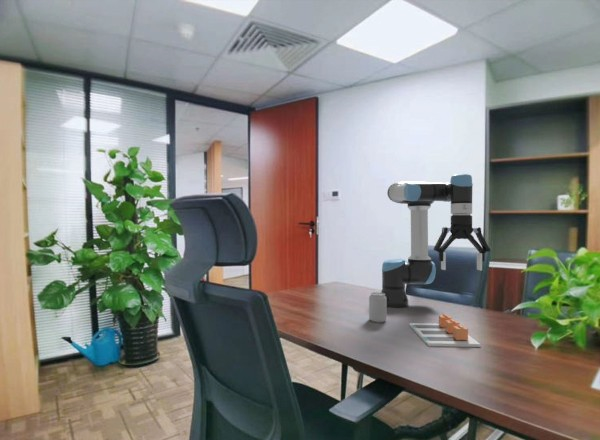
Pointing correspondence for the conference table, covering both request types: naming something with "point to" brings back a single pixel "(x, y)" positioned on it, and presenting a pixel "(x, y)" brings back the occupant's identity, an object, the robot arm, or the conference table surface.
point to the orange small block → (443, 319)
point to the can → (377, 307)
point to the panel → (440, 336)
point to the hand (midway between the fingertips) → (461, 269)
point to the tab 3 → (460, 332)
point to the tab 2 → (450, 325)
